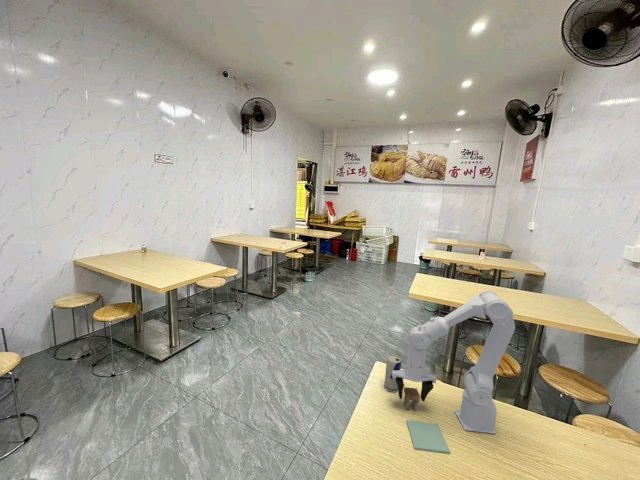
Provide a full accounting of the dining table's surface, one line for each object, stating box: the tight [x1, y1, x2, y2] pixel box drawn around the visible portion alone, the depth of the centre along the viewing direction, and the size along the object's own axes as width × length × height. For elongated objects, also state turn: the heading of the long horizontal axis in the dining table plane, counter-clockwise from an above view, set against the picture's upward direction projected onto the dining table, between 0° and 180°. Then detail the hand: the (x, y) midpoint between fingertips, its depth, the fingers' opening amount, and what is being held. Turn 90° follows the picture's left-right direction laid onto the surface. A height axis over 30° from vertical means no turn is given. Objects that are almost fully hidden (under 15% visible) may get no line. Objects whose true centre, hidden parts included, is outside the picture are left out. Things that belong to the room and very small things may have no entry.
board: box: [405, 419, 451, 455], centre depth 82 cm, size 10×10×1 cm
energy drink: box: [383, 354, 402, 393], centre depth 102 cm, size 5×5×12 cm
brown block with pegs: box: [403, 386, 421, 412], centre depth 93 cm, size 4×4×6 cm
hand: (411, 398), depth 93 cm, fingers open, 7 cm apart
